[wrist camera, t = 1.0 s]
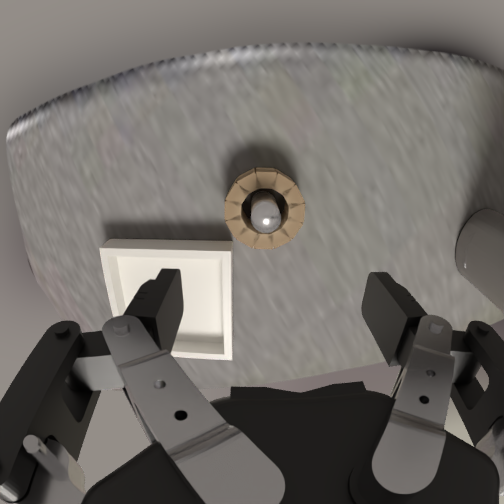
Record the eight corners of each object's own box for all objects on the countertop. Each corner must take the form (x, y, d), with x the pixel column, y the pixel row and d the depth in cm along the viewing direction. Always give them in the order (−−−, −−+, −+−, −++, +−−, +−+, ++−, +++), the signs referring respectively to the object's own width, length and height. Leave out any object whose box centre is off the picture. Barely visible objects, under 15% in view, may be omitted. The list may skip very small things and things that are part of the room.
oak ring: (301, 169, 25) (307, 174, 22) (296, 237, 28) (301, 249, 25) (227, 166, 25) (225, 171, 22) (227, 235, 27) (224, 248, 25)
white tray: (232, 241, 28) (231, 251, 25) (233, 345, 33) (232, 360, 30) (110, 238, 28) (99, 248, 25) (129, 337, 32) (122, 350, 30)
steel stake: (276, 191, 26) (282, 204, 21) (275, 215, 27) (280, 233, 22) (251, 190, 26) (251, 203, 21) (250, 214, 27) (250, 232, 22)
